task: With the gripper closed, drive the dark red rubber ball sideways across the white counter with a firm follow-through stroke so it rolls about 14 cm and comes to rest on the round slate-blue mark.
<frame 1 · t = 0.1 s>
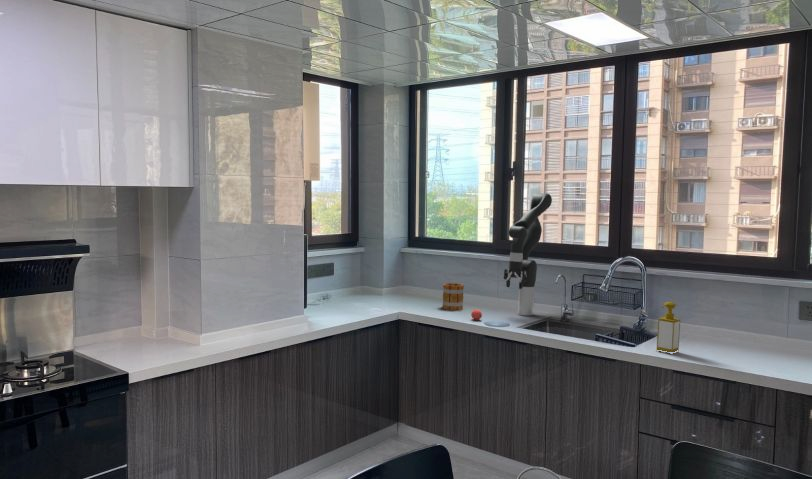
hand: (514, 288, 356), 17 cm above the worktop, tool pointing down, fingers open, 8 cm apart
soap bottle: (665, 353, 281), on the worktop
ball: (476, 314, 345), on the worktop
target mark: (496, 324, 335), on the worktop
brown wooden cylinder: (454, 308, 382), on the worktop
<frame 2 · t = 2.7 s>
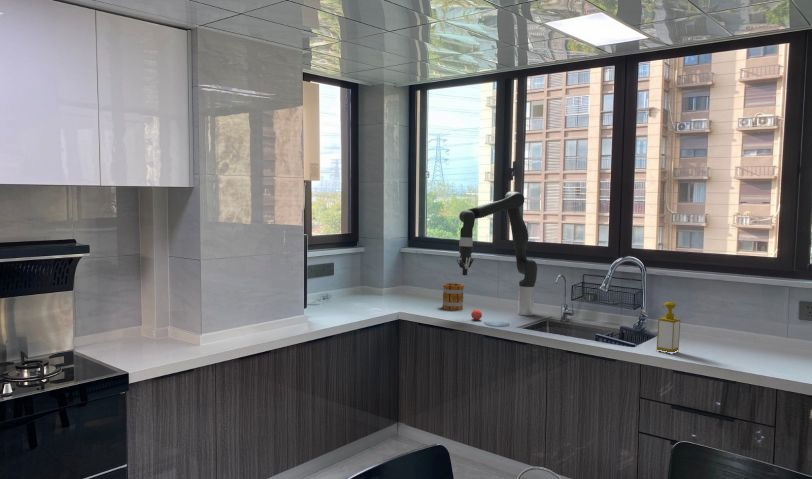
hand: (464, 275, 350), 25 cm above the worktop, tool pointing down, fingers closed
nothing on the worktop moved.
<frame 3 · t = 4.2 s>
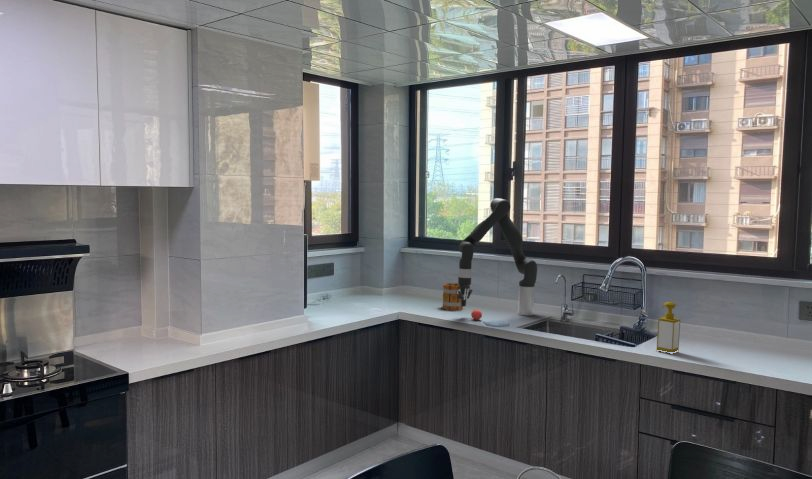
hand: (463, 306, 351), 7 cm above the worktop, tool pointing down, fingers closed
nothing on the worktop moved.
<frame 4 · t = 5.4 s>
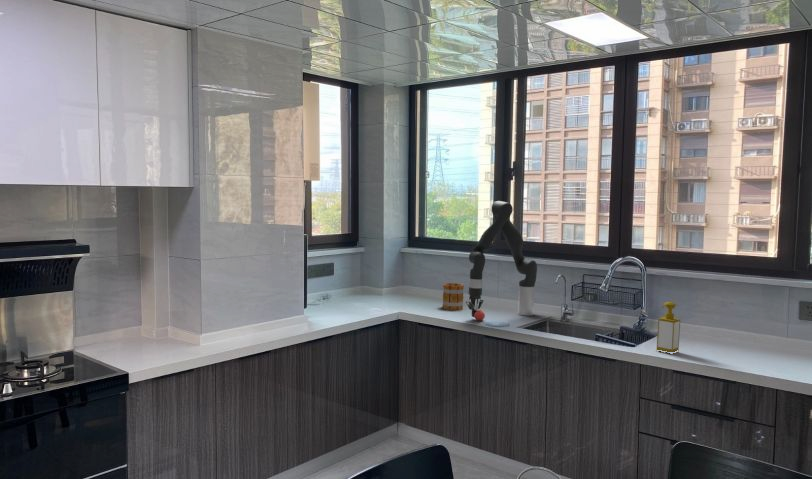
hand: (474, 316, 346), 2 cm above the worktop, tool pointing down, fingers closed
ball: (479, 315, 343), on the worktop, touching gripper
everything else where it was.
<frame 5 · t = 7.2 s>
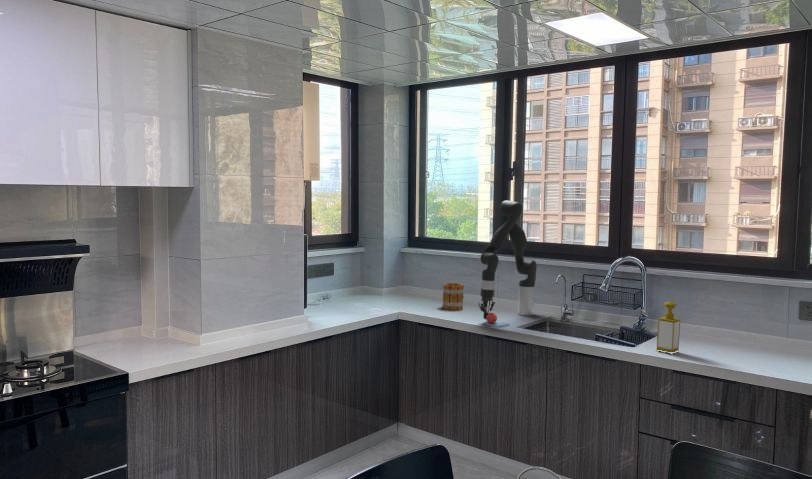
hand: (485, 318, 339), 2 cm above the worktop, tool pointing down, fingers closed
ball: (491, 318, 336), on the worktop, touching gripper
everything else where it was.
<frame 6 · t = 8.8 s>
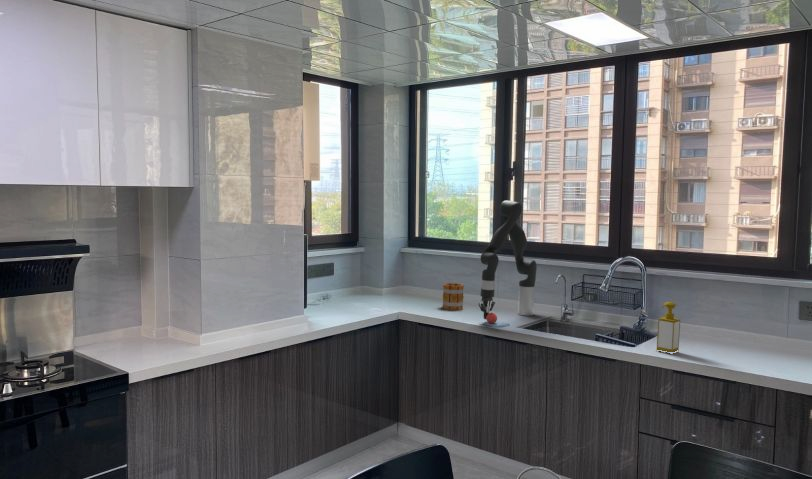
hand: (485, 318, 339), 2 cm above the worktop, tool pointing down, fingers closed
nothing on the worktop moved.
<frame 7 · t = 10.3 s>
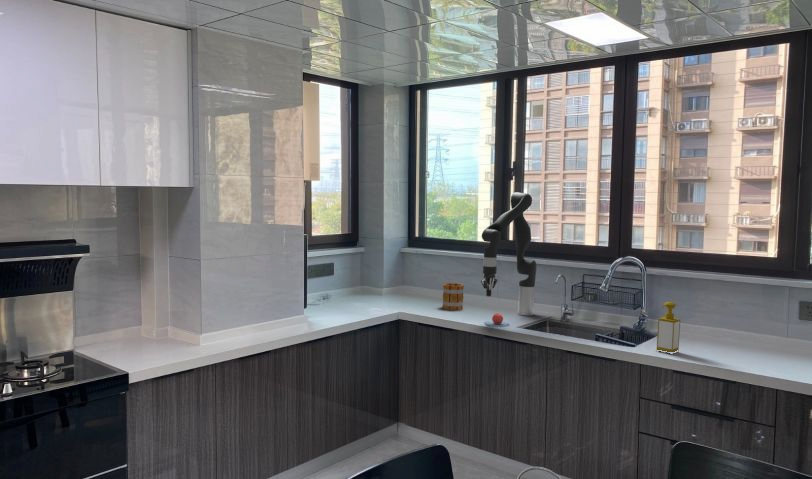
hand: (488, 296, 338), 15 cm above the worktop, tool pointing down, fingers closed
ball: (497, 318, 335), on the worktop
everything else where it was.
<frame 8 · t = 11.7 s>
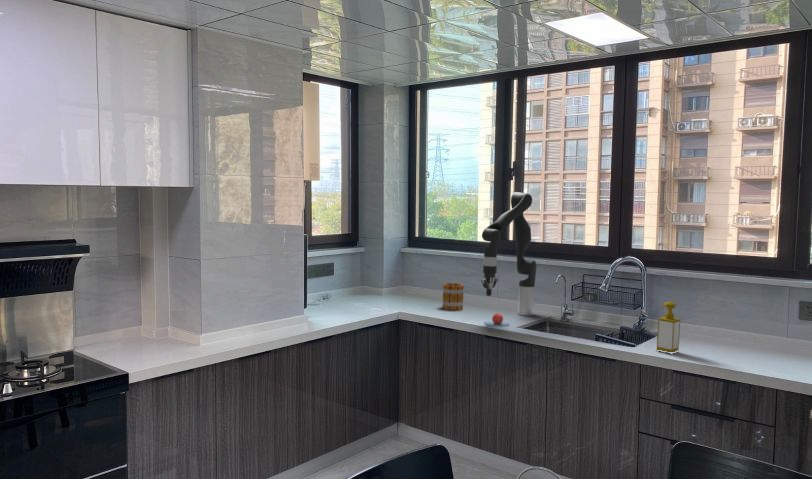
hand: (488, 295, 338), 15 cm above the worktop, tool pointing down, fingers closed
nothing on the worktop moved.
at the end: ball 0.5 cm from the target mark (horizontally); ball at rest at the end (0.0 cm/s); ball moved 14.5 cm from its start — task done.
